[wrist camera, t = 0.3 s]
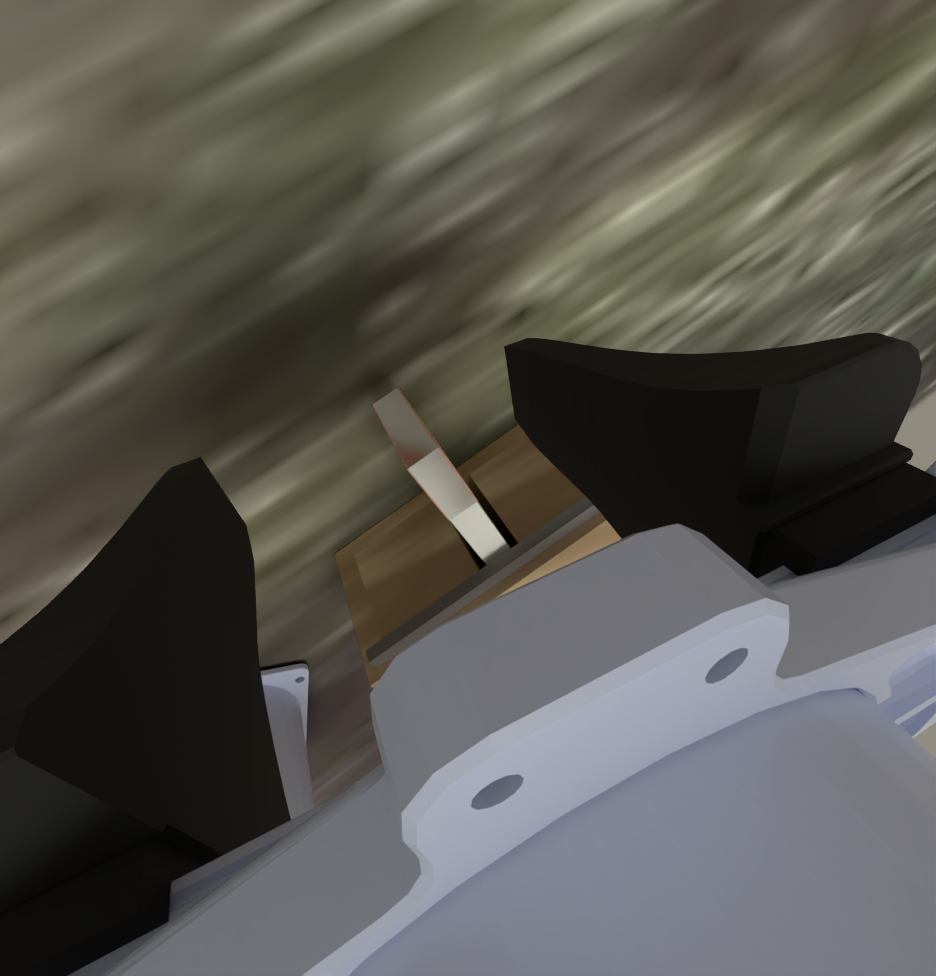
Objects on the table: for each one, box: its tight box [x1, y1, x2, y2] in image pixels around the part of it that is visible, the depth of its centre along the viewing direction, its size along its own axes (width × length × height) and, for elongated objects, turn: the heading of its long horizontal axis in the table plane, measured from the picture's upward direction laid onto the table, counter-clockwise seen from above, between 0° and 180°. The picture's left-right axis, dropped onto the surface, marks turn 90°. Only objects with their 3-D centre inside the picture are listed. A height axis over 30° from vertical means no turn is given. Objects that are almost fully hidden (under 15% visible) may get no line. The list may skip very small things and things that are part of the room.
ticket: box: [372, 387, 511, 565], centre depth 24 cm, size 19×1×5 cm, turn 28°
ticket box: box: [335, 424, 621, 688], centre depth 27 cm, size 15×14×8 cm
